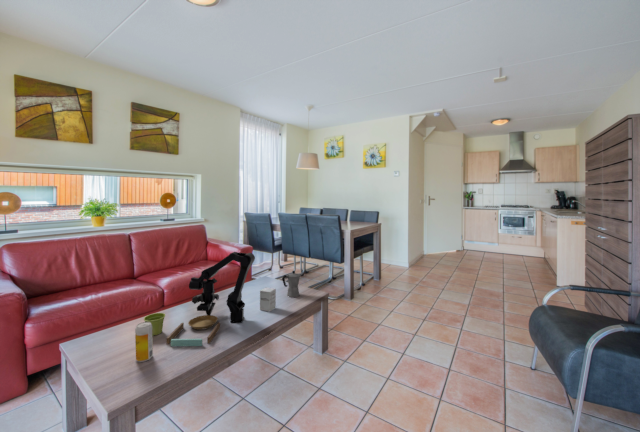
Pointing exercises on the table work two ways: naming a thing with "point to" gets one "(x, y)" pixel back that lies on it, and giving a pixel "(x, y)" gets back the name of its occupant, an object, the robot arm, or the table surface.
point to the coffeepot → (292, 284)
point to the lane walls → (183, 327)
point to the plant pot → (155, 322)
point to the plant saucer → (203, 322)
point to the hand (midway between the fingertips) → (208, 316)
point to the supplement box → (267, 299)
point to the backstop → (186, 342)
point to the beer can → (144, 341)
